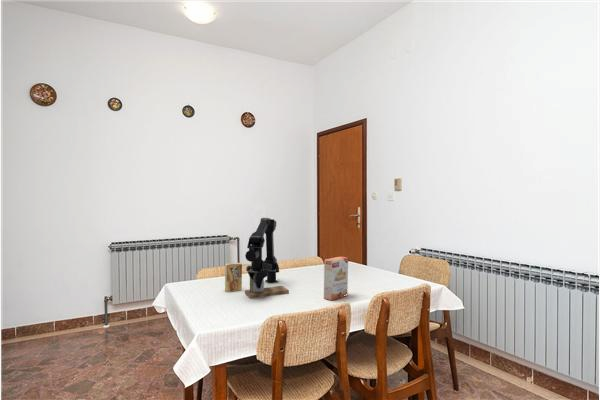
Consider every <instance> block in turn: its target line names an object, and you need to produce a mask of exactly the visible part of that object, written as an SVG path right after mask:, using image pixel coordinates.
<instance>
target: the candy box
mask: <svg viewBox="0 0 600 400" xmlns="http://www.w3.org/2000/svg"><path fill="white" fill-rule="evenodd" d="M224 278H225V279H224V291H225V292H227V293H230V292H238V291H243V263H241V262H233V263H232V262H231V263H225V265H224Z"/></svg>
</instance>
